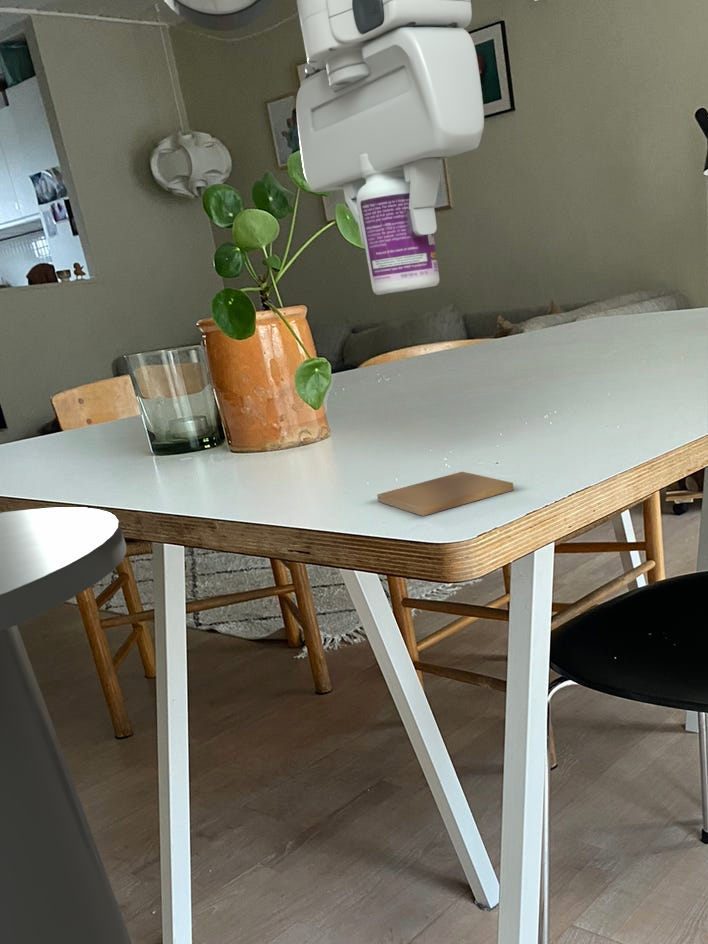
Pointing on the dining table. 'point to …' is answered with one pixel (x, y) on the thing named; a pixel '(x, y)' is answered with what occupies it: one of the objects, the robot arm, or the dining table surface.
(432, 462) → the dining table surface
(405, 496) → the coaster
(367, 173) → the pill bottle
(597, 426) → the dining table surface
